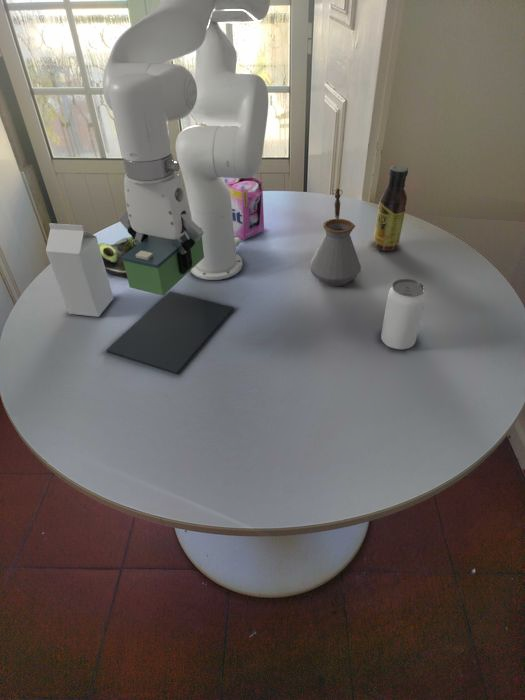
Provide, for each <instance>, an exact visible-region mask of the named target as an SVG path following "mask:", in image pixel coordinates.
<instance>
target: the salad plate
mask: <svg viewBox="0 0 525 700" xmlns="http://www.w3.org/2000/svg"><path fill="white" fill-rule="evenodd" d="M149 236H150V235H149ZM134 240H135V239H134V238H133V237H132V236H127V237H122V238H120V239H119V240H117V241H115V242H112V243H110V244H109V243H104V242H101V243H98V244H99V248H100V251H101V255H102V258H103V262H104V266H105V269H106V273H107V274H109V275H110V276H115V277H121V278H127V274H126V270H125V266H124V262H123V260H122V258H121V257H122V256H123V255H125V254H126V253H127V252H129V251H130V250H131V249H133V248H134V247H135V246H137V244H135V242H134Z"/></svg>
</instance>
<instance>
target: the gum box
mask: <svg viewBox="0 0 525 700" xmlns="http://www.w3.org/2000/svg"><path fill="white" fill-rule="evenodd" d="M221 178H222V179H223V180H224V182H225V183H226V185H227V187H228V189H229V191H230V194H231V202H232V217H233V231H234V237H239V238H240V239H241V240H243V241H245V240H247V239H250V238H252V237H254V236H256V235H258V234H260V233H262V232H264V231H265V221H264V220H265V218H264V216H265V215H264V214H265V213H264V192H263V189H264V188H263V181H262V180H259V179H257V178H255V177H252V178H227V177H221Z"/></svg>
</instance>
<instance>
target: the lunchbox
mask: <svg viewBox="0 0 525 700" xmlns="http://www.w3.org/2000/svg"><path fill="white" fill-rule="evenodd" d="M200 229H201V230H202V228H200ZM185 231H186V233H187V235H188V236H189V238H190V237H191V233H190V232H189V231H188V230H185ZM180 240H181V242H182V243H183V245H184V242H183V240H182V238H180ZM190 250H191V257H192V267H191V268H190V269H189V270H188V271H187V272H186V273H185V274H180V271H179V265H178V259H177V254H178V253H179V251H178V249H177V247H176V246H175V244H174V242H173V241H172V239H166V238H161V237H156V236H151V235H150V236H149V237H147V238H146V239H145V240H143V241H142V242H141V243H139V244H138V245H137V246H135V247H134V248H133V249H131V250H130V251H129V252H127V253H126V254H125V255H123V256H122V257H121V258H122V260H123V262H124V266H125V270H126V274H127V277H126V278H127V281H128V282H127V283H128V286H129V288H130V289H134V290H139V291H142V292H147V293H151V294H155V295H159V296H163V297H165V296H166V295H167V294H168V293H169V292H170V290H171V289H172V288H173V287H174V286H175V285H177V284H178V283H180V281H181V280H182V279H183V278H184V277H185V276H187V274H188V273H189V272H191V269H192V268H193V267H195V266H196V265H197V264H198V263H199V262H200V261H201V260H202V259H203V258H204V251H203V243H202V236H201V238H200V239H199V240H198V242H197V243H196V244H195V245H194V246H193V247H192V248H191V249H190Z"/></svg>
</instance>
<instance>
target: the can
mask: <svg viewBox="0 0 525 700" xmlns="http://www.w3.org/2000/svg"><path fill="white" fill-rule="evenodd" d="M391 284H392V285H391V288H390V289H389V290H388V294H387V299H386V304H385V310H384V316H383V321H382V328H381V334H380V340H381V341H382V342H383V344H384V345H385V346H386V347H388V348H390V349H393V350H397V351H405V350H408V349H410V348H412V347H413V346H415V344H416V341H417V337H418V333H419V328H420V324H421V320H422V315H423V312H424V307H425V303H426V287H425V285H424V284H423V283H422V282H420V281H418V280H415V279H411V278H400V279H396V280H395V281H393V283H391Z"/></svg>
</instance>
